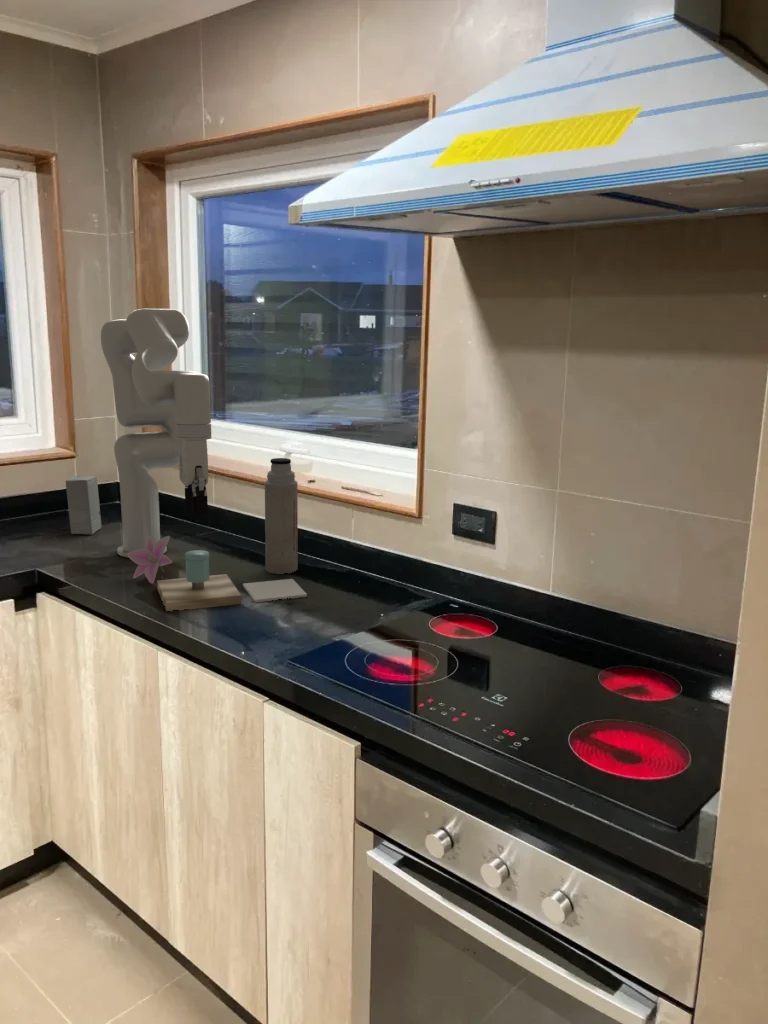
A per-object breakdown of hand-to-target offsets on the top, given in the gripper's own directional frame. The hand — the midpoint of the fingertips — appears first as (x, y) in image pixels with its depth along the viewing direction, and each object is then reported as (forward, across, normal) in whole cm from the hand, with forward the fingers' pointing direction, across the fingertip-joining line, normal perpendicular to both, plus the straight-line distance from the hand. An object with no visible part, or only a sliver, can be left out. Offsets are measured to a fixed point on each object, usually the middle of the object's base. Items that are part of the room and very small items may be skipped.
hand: (196, 509), depth 180 cm
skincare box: (+19, -68, -21) cm, 74 cm away
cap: (+16, -1, 0) cm, 16 cm away
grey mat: (+20, +1, +17) cm, 26 cm away
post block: (+20, -1, 0) cm, 20 cm away
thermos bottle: (+20, -15, +23) cm, 34 cm away
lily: (+20, -19, -8) cm, 29 cm away
